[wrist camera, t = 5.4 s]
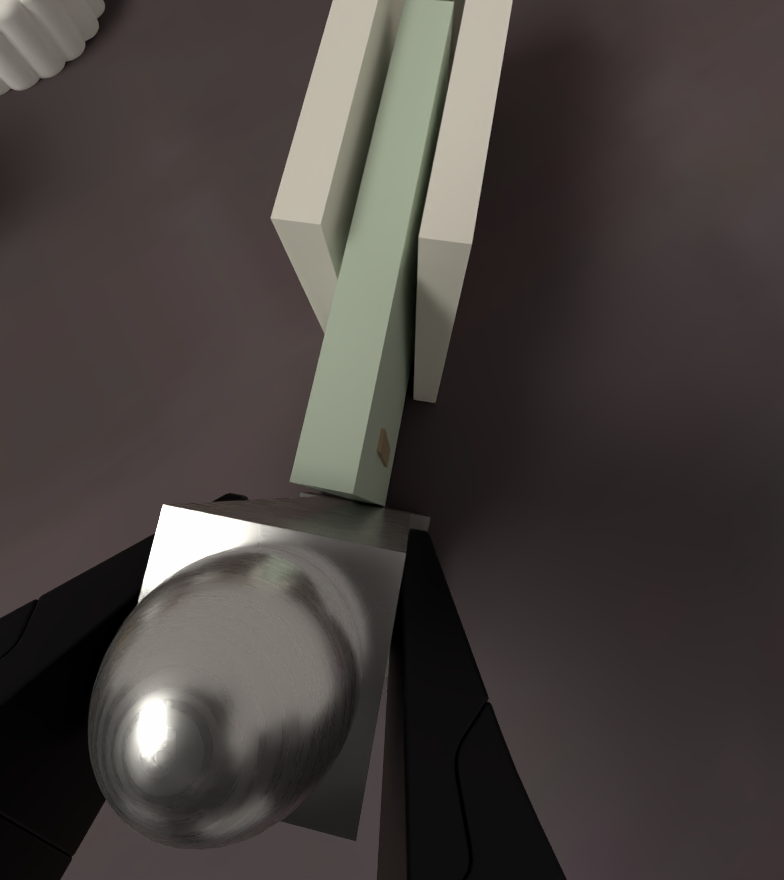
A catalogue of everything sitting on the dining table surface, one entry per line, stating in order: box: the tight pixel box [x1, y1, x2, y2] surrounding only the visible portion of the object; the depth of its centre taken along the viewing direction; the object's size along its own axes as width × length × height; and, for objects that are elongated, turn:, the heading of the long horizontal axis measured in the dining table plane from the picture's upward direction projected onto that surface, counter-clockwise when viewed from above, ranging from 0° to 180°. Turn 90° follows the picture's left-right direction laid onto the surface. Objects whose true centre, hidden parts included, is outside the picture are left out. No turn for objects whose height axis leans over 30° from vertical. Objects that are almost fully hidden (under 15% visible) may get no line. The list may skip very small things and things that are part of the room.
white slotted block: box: [271, 0, 513, 403], centre depth 14 cm, size 17×4×10 cm, turn 170°
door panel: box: [290, 0, 454, 506], centre depth 12 cm, size 12×1×9 cm, turn 170°
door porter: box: [88, 492, 430, 850], centre depth 9 cm, size 6×5×12 cm
